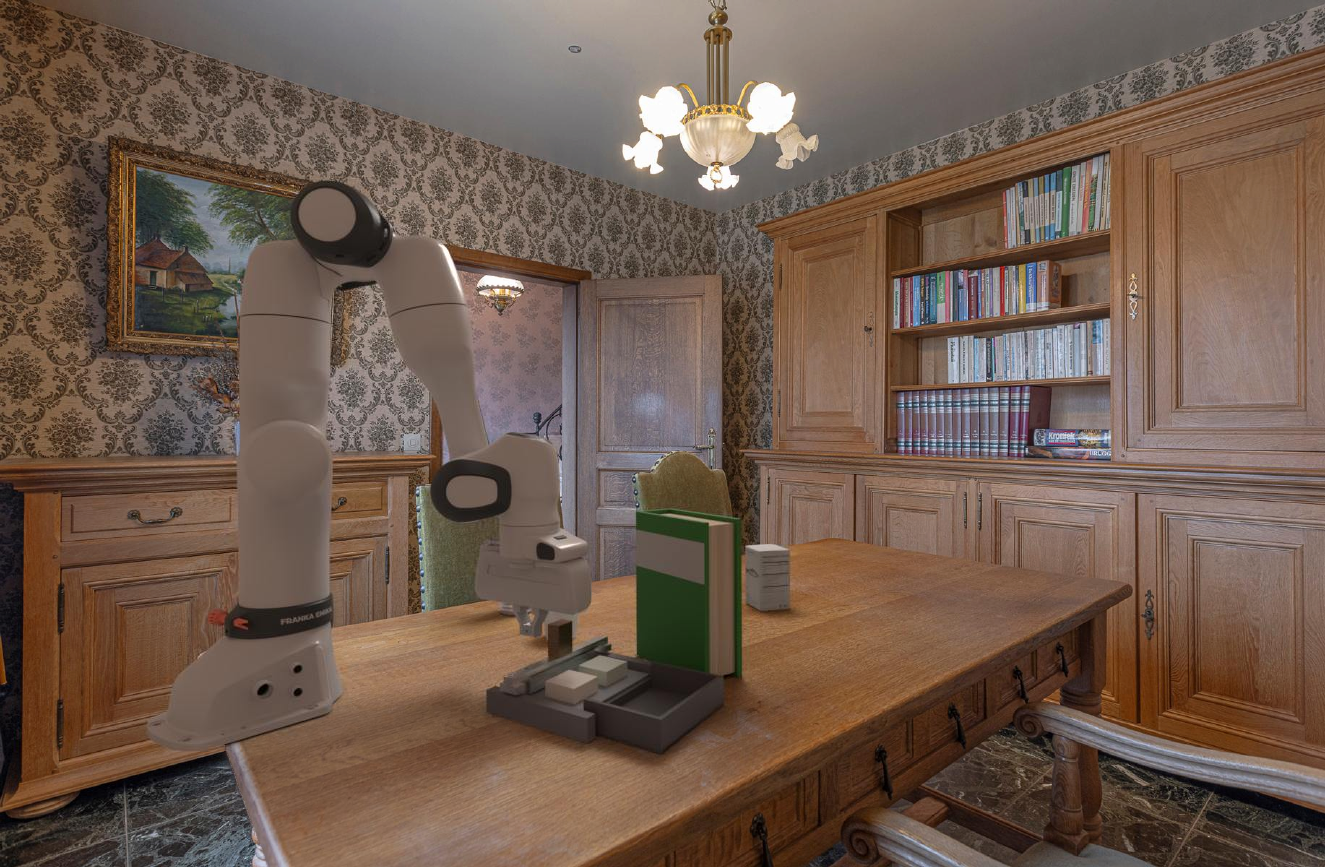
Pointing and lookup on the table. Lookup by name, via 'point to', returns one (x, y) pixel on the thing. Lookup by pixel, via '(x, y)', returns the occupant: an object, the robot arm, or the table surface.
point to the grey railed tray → (564, 703)
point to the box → (658, 707)
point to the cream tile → (571, 686)
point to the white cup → (557, 616)
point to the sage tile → (605, 669)
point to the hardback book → (689, 590)
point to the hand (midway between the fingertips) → (530, 635)
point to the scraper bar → (554, 659)
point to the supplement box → (767, 577)
